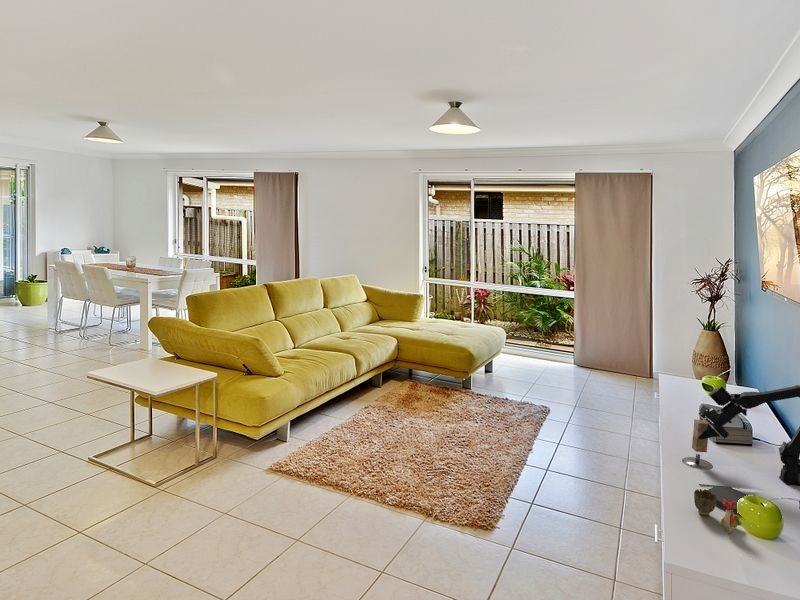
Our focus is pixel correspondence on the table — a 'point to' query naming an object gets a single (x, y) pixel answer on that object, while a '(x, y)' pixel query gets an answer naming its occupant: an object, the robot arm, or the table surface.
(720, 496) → the media streaming box
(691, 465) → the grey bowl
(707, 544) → the table surface
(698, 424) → the walnut block
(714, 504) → the cup
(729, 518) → the bird rattle
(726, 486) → the rubber mat
